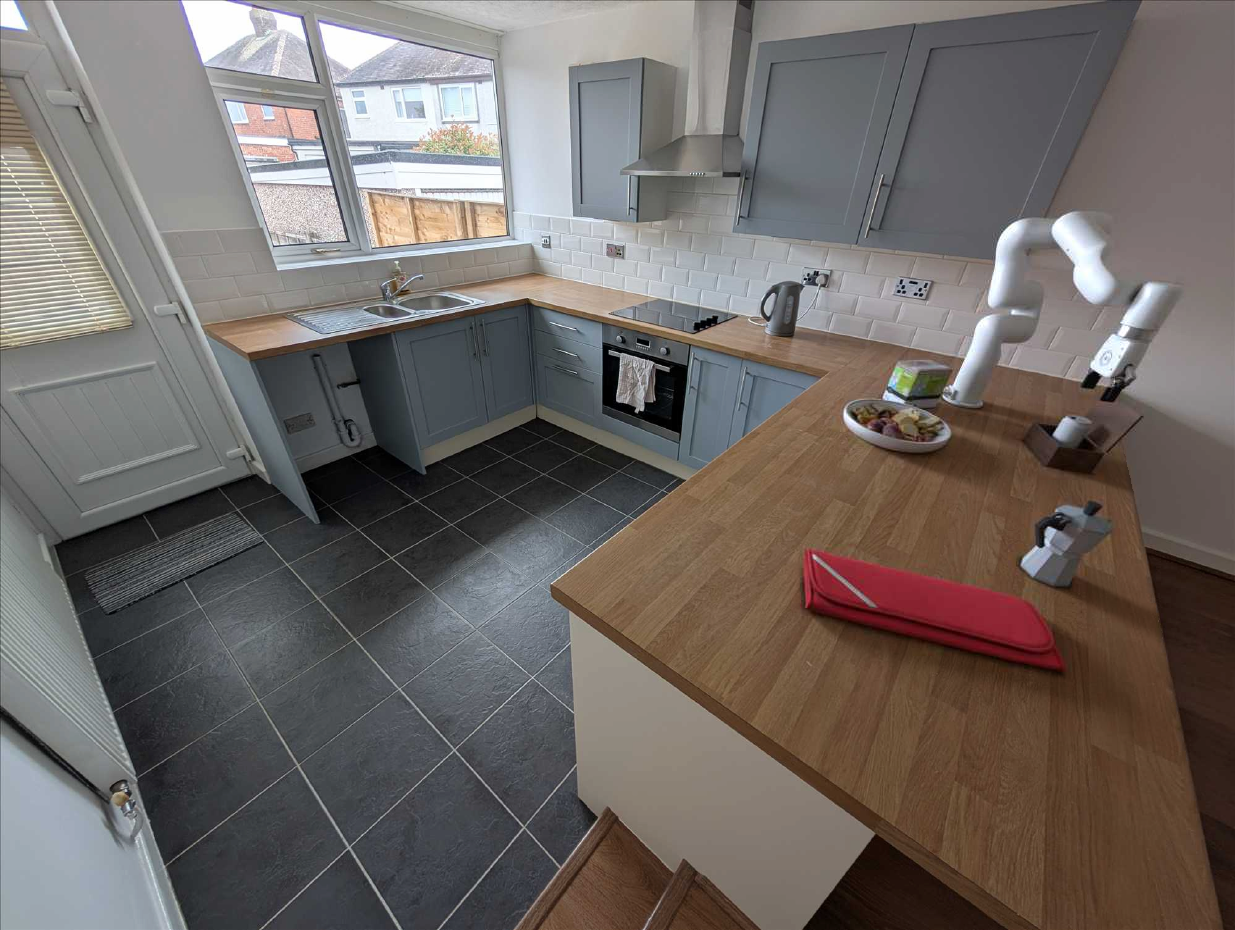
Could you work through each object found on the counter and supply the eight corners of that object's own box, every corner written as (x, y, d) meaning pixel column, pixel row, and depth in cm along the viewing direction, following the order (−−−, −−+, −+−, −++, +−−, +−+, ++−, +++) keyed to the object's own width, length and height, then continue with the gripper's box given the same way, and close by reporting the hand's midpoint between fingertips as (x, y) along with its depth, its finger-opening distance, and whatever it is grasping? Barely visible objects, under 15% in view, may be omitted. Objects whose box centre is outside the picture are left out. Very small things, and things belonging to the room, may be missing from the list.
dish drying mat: (1063, 677, 78) (1075, 663, 76) (805, 613, 87) (810, 599, 85) (1022, 605, 91) (1033, 592, 89) (801, 556, 100) (806, 543, 98)
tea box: (902, 411, 164) (918, 370, 156) (881, 398, 172) (896, 359, 165) (936, 407, 168) (954, 368, 160) (914, 396, 176) (930, 358, 168)
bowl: (847, 404, 167) (855, 383, 163) (944, 428, 155) (955, 406, 150) (832, 438, 145) (840, 415, 141) (944, 469, 133) (956, 445, 128)
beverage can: (1043, 446, 146) (1065, 411, 139) (1069, 454, 143) (1093, 418, 136) (1042, 454, 142) (1065, 418, 135) (1069, 462, 138) (1094, 426, 132)
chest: (1046, 466, 137) (1058, 446, 134) (1022, 440, 150) (1033, 421, 147) (1091, 473, 135) (1105, 454, 131) (1063, 446, 148) (1075, 428, 144)
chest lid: (1141, 415, 124) (1144, 416, 124) (1106, 391, 137) (1109, 392, 137) (1104, 452, 131) (1107, 453, 131) (1075, 426, 144) (1077, 427, 144)
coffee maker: (1056, 557, 103) (1106, 490, 94) (1091, 588, 96) (1149, 519, 86) (991, 556, 103) (1034, 489, 93) (1021, 587, 95) (1072, 517, 86)
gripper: (1099, 323, 130) (1064, 381, 139) (1138, 341, 116) (1097, 404, 125) (1131, 326, 129) (1094, 385, 138) (1175, 345, 114) (1131, 409, 123)
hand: (1096, 394), depth 131 cm, fingers open, 9 cm apart
